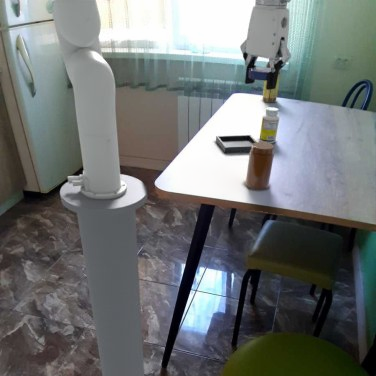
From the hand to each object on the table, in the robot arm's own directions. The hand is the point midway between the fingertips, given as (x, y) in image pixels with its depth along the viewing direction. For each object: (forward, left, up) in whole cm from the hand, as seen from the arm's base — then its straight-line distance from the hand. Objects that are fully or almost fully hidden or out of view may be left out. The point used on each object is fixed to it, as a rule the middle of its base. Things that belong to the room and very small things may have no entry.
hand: (260, 85), depth 109 cm
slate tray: (+2, +19, -22) cm, 29 cm away
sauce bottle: (+34, +75, -22) cm, 85 cm away
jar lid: (0, 0, +3) cm, 3 cm away
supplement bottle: (+14, +23, -22) cm, 35 cm away
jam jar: (-2, -12, -22) cm, 25 cm away
